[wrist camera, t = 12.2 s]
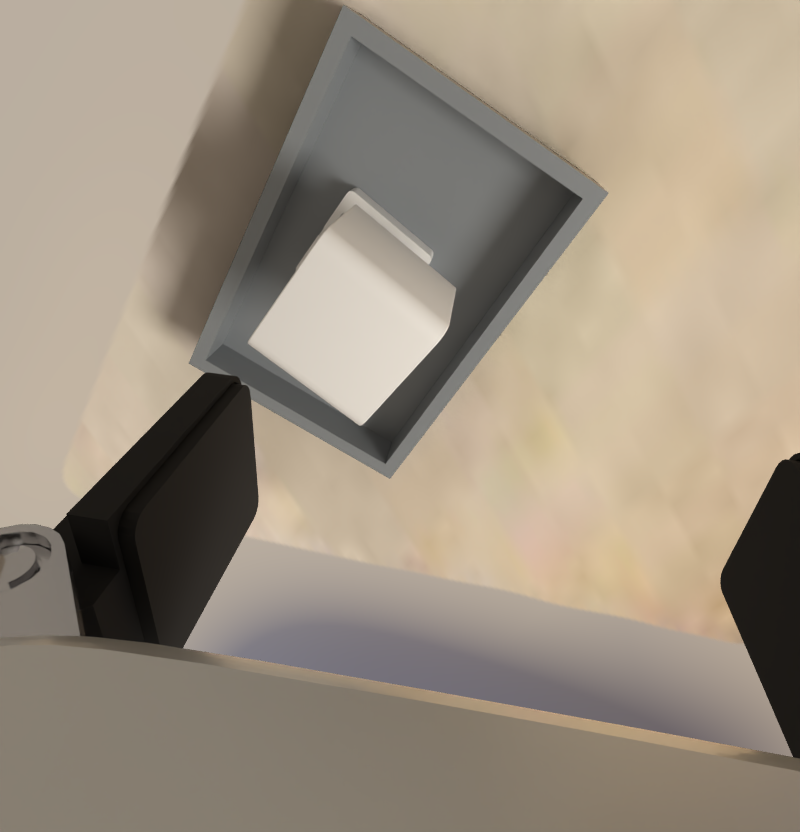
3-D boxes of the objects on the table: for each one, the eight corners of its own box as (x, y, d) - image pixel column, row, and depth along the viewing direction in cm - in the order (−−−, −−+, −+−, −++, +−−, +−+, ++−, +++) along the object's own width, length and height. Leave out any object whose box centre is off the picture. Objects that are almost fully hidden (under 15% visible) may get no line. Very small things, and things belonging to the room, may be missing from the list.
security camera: (392, 345, 34) (357, 432, 25) (296, 270, 32) (225, 336, 24) (462, 264, 31) (449, 332, 22) (360, 178, 30) (305, 214, 21)
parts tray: (360, 13, 27) (343, 4, 24) (596, 182, 29) (608, 192, 26) (213, 340, 37) (188, 363, 34) (398, 448, 39) (390, 478, 36)
